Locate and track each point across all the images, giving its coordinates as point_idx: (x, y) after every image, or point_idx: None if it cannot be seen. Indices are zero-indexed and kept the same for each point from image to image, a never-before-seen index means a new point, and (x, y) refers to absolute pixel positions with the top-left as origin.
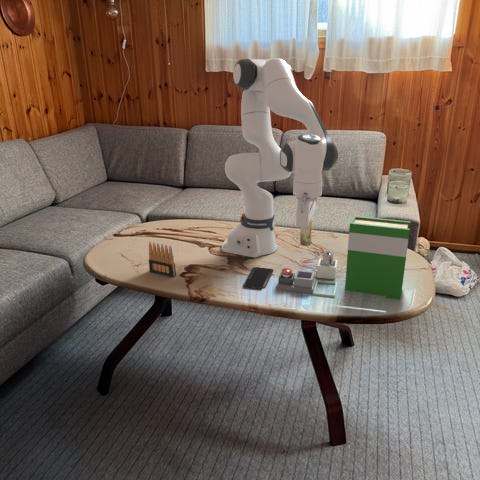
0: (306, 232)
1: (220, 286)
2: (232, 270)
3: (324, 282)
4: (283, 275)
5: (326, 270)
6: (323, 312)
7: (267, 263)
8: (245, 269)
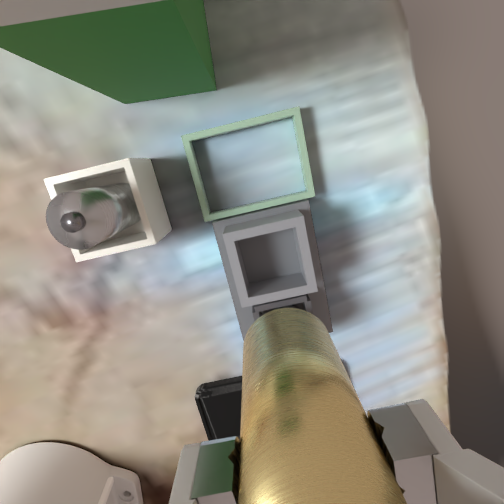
0: (432, 418)
1: None
2: None
3: (202, 188)
4: None
5: (149, 200)
6: (414, 114)
7: (152, 424)
8: None
